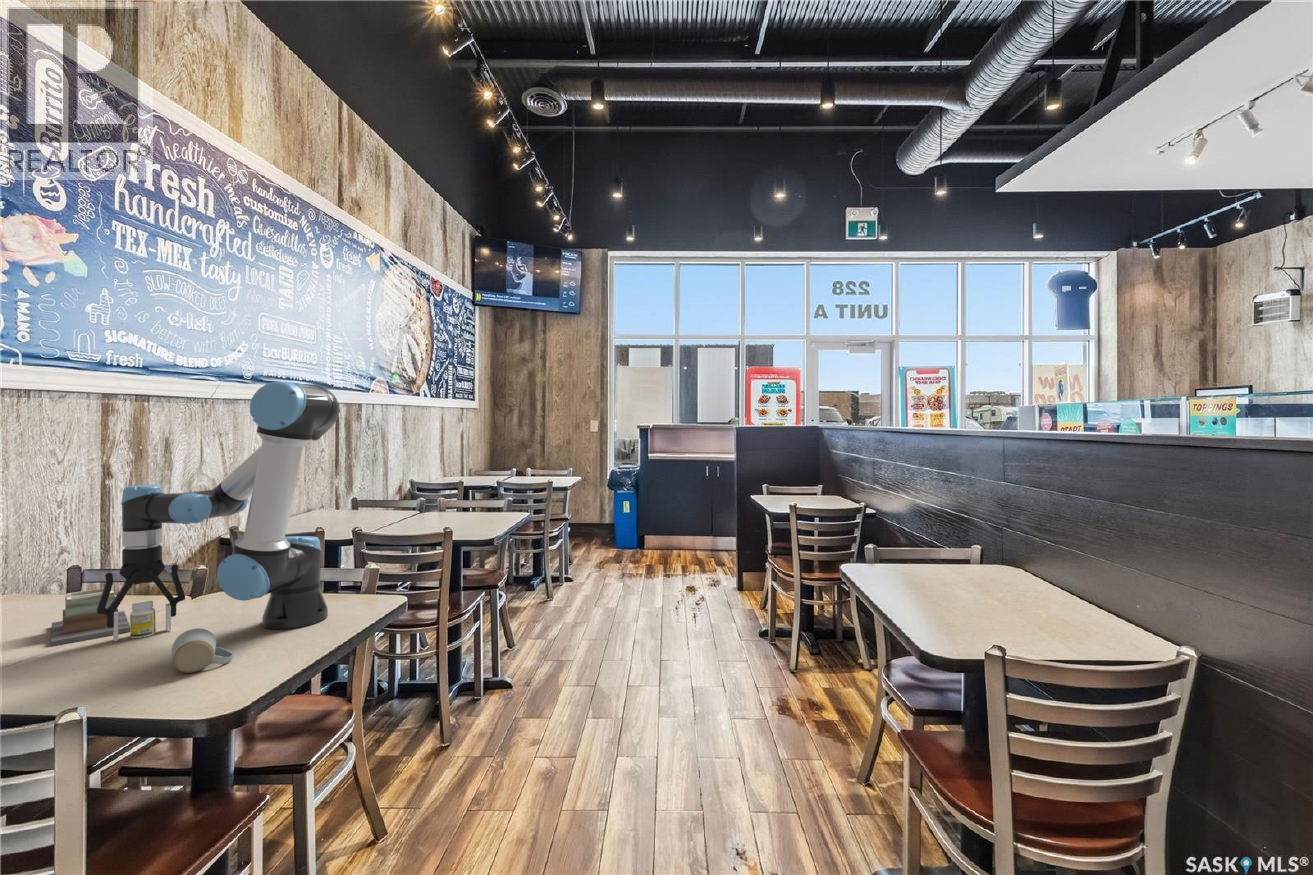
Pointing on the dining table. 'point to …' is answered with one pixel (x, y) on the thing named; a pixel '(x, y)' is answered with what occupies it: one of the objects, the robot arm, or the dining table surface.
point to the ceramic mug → (197, 651)
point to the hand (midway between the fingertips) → (142, 634)
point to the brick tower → (85, 618)
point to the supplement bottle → (142, 619)
